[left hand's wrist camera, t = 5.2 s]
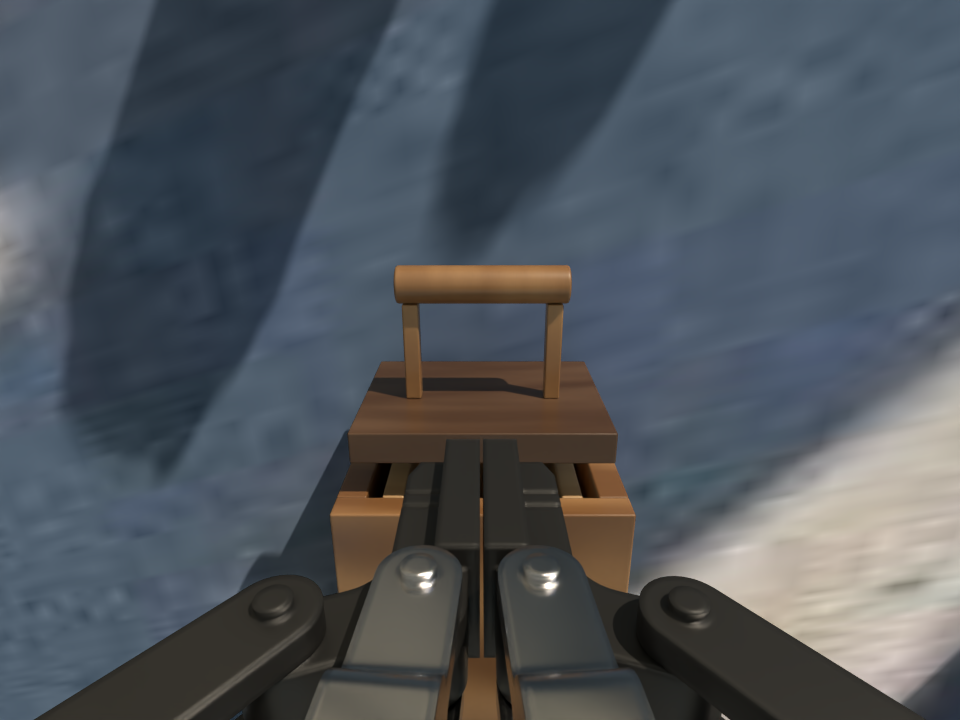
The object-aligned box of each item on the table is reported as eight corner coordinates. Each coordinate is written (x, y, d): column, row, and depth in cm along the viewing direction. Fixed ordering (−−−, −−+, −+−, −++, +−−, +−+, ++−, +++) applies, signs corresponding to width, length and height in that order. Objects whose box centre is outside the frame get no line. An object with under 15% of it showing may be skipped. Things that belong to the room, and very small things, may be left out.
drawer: (373, 247, 25) (333, 285, 18) (591, 247, 25) (631, 285, 18) (402, 692, 34) (382, 827, 27) (563, 693, 34) (582, 828, 27)
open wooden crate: (375, 402, 29) (328, 514, 20) (589, 402, 29) (636, 515, 20) (397, 724, 36) (371, 907, 28) (567, 725, 36) (593, 908, 28)
